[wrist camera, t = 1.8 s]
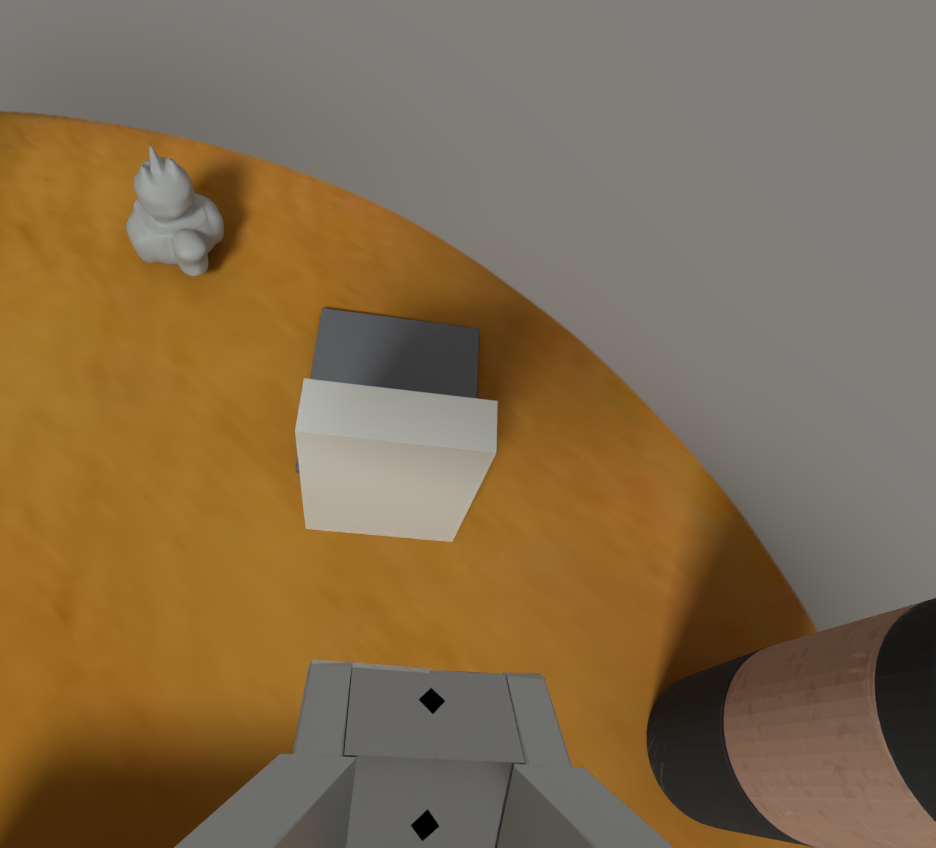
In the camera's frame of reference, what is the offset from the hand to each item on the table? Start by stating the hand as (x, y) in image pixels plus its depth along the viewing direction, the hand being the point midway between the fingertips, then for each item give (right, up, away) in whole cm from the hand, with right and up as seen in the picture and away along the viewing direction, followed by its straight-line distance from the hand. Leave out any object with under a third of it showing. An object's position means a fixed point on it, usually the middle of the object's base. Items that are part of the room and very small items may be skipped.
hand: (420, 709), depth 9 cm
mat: (-4, +5, +33) cm, 34 cm away
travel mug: (+13, -13, +27) cm, 33 cm away
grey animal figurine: (-17, +14, +35) cm, 42 cm away
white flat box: (-4, -1, +30) cm, 30 cm away
